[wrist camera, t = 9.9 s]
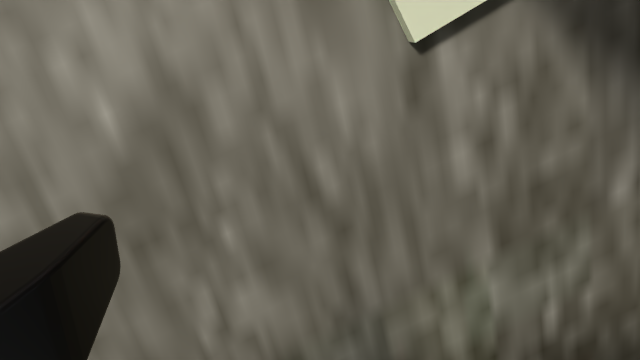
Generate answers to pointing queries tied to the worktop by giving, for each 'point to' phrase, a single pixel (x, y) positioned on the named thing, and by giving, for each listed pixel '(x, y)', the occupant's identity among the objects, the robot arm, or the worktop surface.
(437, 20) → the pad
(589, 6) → the worktop surface
